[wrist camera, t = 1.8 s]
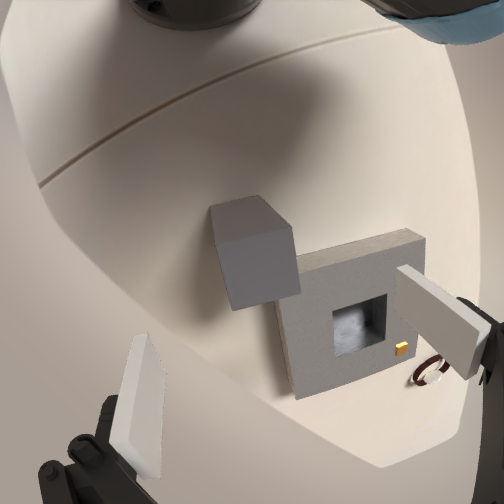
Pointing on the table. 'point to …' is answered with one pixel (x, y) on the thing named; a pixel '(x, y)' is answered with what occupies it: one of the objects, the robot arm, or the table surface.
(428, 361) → the watch
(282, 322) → the socket
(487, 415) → the robot arm
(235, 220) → the plug
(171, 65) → the table surface
